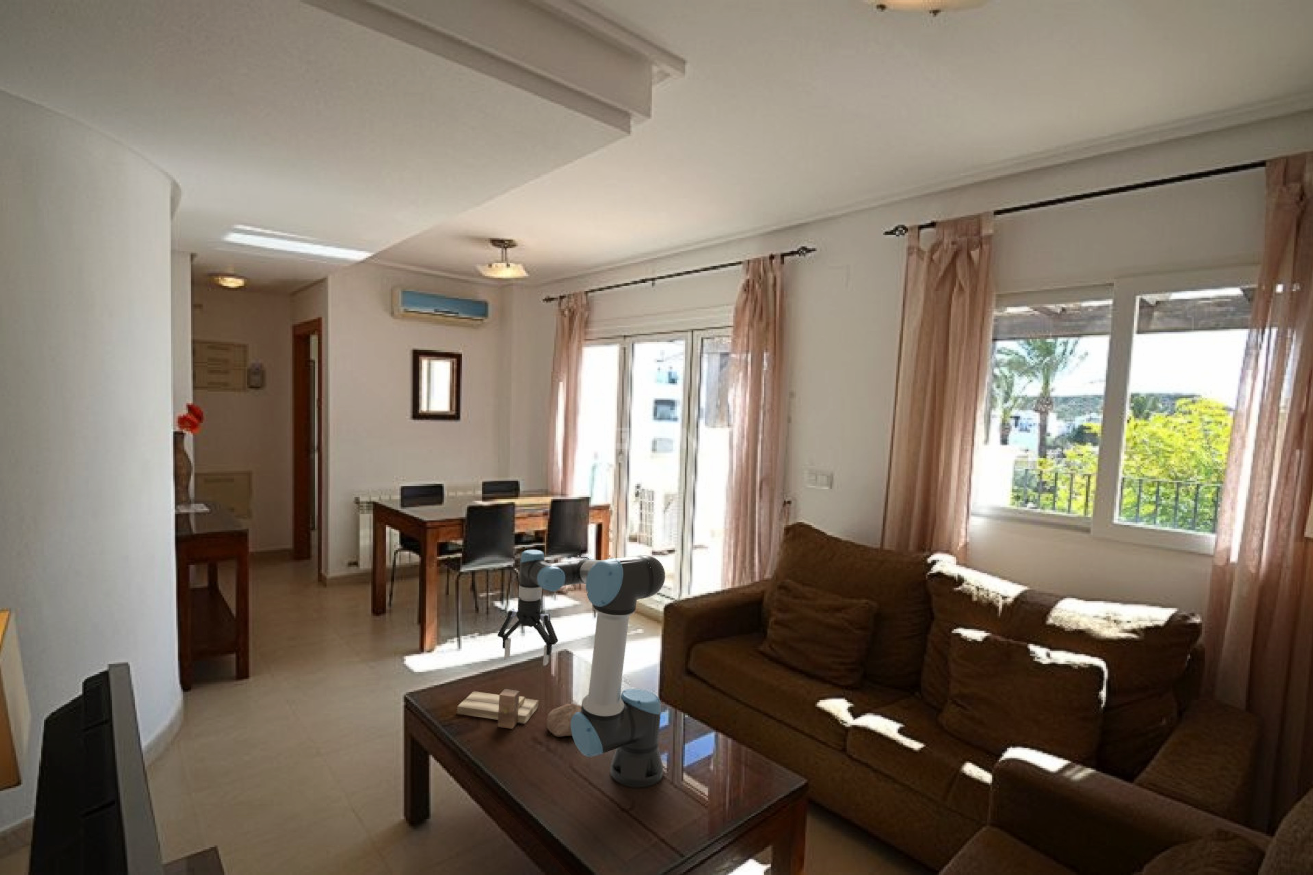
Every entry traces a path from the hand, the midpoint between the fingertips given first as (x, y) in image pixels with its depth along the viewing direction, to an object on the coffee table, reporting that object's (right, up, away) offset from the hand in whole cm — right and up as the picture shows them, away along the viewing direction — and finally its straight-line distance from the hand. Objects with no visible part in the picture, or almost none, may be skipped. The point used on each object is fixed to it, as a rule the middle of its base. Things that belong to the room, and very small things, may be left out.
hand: (526, 661), depth 208 cm
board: (-11, -19, +7) cm, 23 cm away
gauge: (-5, -20, +2) cm, 20 cm away
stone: (+14, -21, -5) cm, 26 cm away
